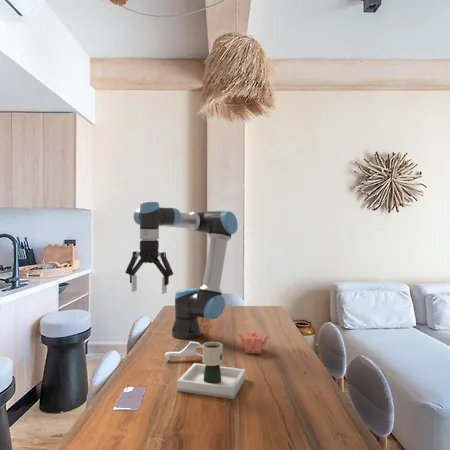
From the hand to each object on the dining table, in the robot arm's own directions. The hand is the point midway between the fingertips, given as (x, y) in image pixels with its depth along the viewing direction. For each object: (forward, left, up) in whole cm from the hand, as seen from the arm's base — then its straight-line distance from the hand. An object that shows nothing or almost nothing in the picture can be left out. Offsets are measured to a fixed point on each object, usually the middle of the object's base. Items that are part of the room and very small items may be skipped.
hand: (149, 292), depth 146 cm
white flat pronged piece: (-8, +14, -29) cm, 33 cm away
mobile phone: (+28, +9, -29) cm, 42 cm away
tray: (+11, +31, -29) cm, 44 cm away
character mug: (+11, +31, -28) cm, 43 cm away
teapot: (-26, +38, -29) cm, 54 cm away
